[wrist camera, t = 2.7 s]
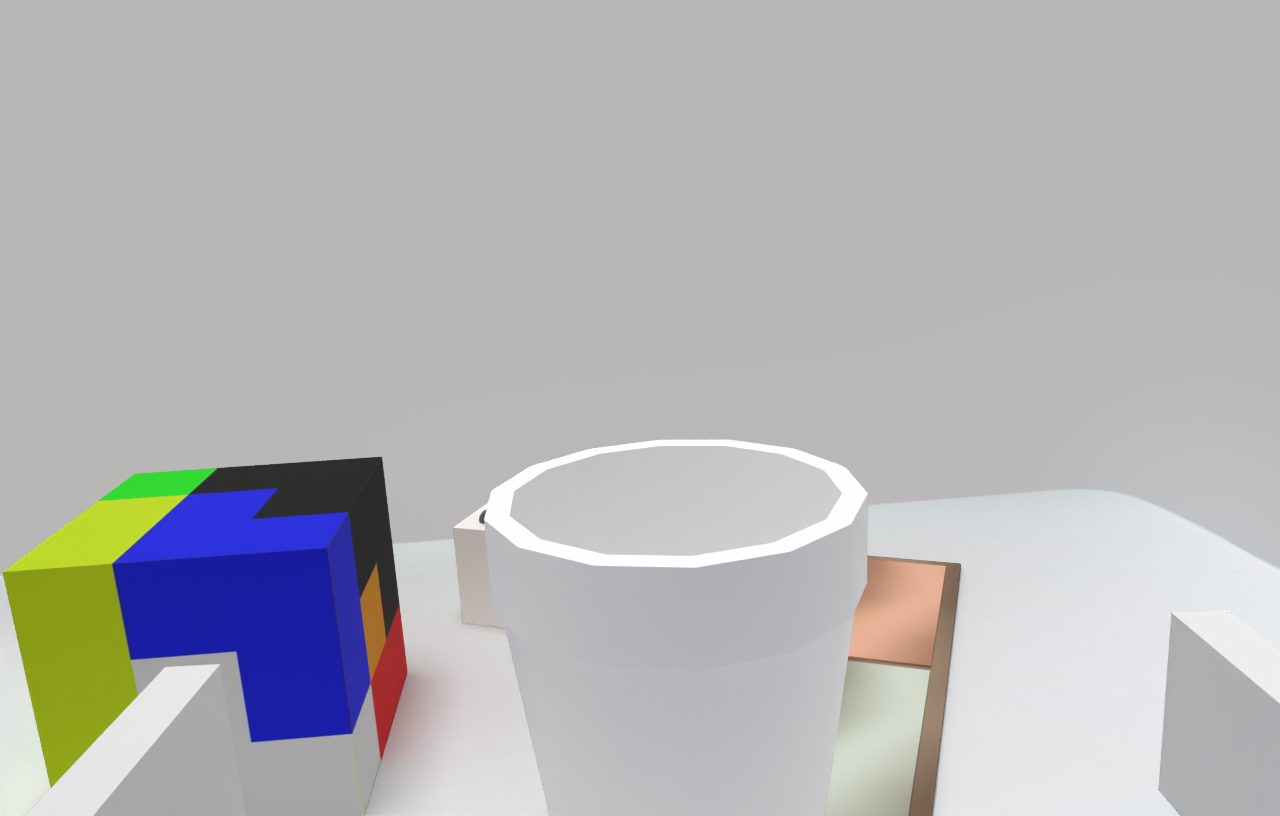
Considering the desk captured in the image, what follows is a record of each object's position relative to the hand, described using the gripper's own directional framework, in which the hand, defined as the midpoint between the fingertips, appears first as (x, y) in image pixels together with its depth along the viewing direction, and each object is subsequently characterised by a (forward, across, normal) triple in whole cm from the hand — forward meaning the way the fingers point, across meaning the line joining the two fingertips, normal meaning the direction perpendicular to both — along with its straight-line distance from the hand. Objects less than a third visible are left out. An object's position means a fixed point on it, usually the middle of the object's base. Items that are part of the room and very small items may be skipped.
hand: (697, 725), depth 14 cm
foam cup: (+12, 0, -14) cm, 18 cm away
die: (+34, -7, -14) cm, 37 cm away
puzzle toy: (+22, -16, -14) cm, 31 cm away
